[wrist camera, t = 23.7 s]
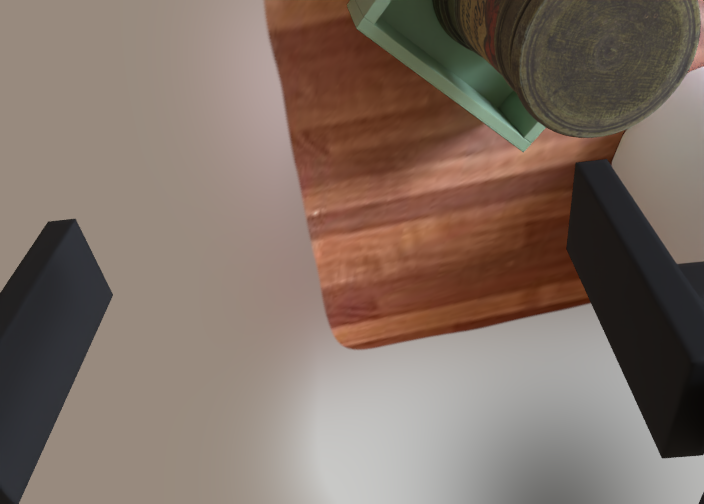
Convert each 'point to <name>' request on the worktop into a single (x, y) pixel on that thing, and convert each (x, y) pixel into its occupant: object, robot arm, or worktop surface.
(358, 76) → the worktop surface
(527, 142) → the tub
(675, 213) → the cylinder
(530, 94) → the container
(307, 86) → the worktop surface
